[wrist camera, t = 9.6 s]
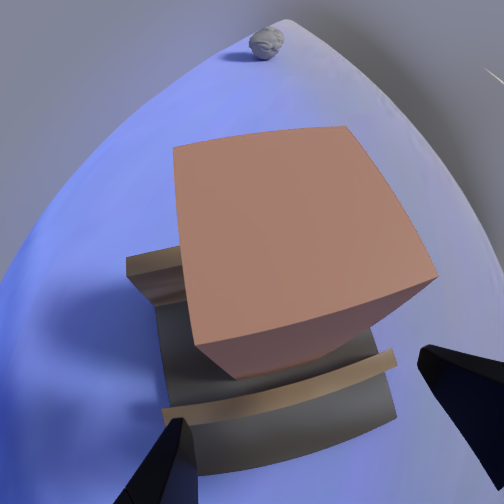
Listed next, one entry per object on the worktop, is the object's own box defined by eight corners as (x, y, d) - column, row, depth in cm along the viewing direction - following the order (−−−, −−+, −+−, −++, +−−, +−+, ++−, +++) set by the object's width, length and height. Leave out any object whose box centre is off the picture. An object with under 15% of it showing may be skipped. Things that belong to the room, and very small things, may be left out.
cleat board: (390, 417, 15) (439, 418, 9) (192, 472, 13) (166, 502, 8) (336, 257, 21) (360, 210, 16) (157, 296, 19) (126, 257, 14)
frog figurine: (290, 60, 42) (292, 28, 36) (262, 66, 40) (263, 32, 34) (268, 52, 44) (269, 23, 38) (241, 58, 42) (240, 27, 36)
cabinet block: (314, 361, 16) (439, 276, 5) (237, 380, 15) (194, 345, 4) (289, 280, 19) (334, 112, 8) (218, 296, 18) (172, 131, 7)
